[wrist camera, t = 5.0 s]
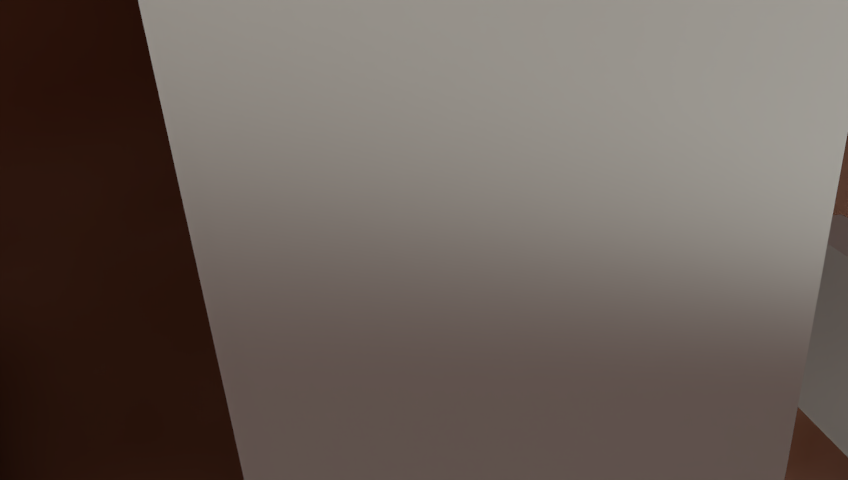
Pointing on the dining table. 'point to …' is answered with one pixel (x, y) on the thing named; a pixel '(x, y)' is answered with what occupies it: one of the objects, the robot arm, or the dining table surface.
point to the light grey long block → (507, 228)
